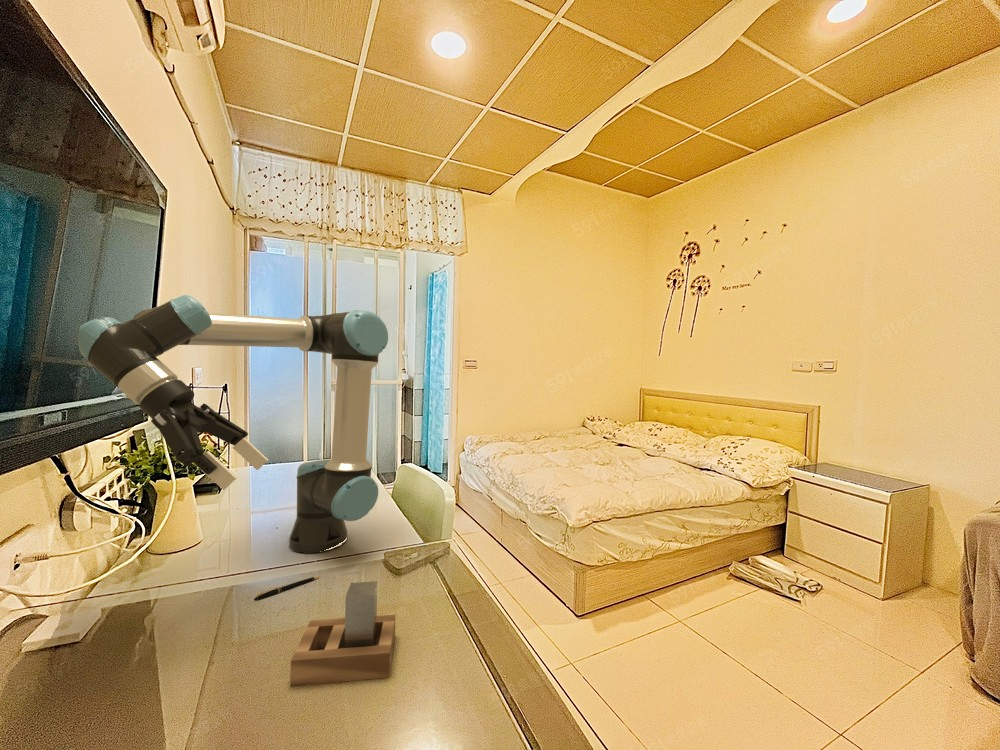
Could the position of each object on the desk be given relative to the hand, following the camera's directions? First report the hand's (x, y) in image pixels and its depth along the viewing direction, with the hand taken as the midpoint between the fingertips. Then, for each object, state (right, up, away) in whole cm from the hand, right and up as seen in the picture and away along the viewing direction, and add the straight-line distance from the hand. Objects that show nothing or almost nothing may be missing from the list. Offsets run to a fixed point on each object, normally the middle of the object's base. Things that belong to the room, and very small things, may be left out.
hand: (248, 473), depth 78 cm
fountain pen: (0, -30, +16) cm, 34 cm away
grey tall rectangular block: (+23, -30, -6) cm, 38 cm away
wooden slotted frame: (+21, -30, -6) cm, 37 cm away
